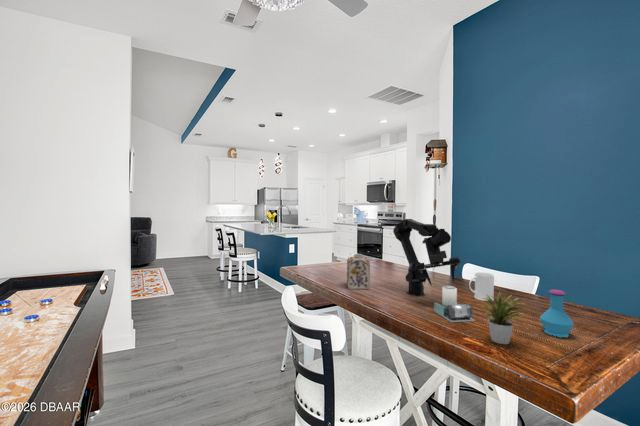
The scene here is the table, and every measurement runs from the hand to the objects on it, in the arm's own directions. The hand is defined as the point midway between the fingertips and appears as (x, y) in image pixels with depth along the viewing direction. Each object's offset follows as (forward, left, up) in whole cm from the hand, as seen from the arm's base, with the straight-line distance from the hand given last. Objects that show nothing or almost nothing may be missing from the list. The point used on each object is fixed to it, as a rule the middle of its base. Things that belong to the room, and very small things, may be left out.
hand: (442, 283), depth 131 cm
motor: (+8, -7, -10) cm, 15 cm away
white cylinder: (+6, -6, -9) cm, 13 cm away
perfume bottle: (+40, +3, -10) cm, 41 cm away
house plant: (+29, -20, -10) cm, 37 cm away
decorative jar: (-46, -2, -10) cm, 48 cm away
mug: (+7, +27, -10) cm, 29 cm away
